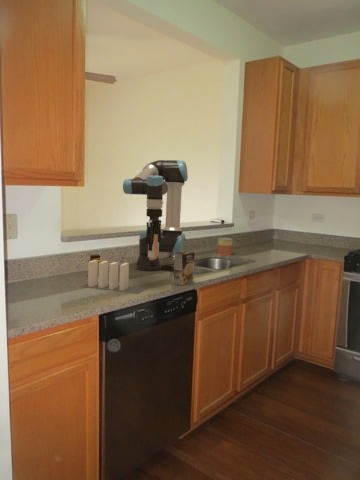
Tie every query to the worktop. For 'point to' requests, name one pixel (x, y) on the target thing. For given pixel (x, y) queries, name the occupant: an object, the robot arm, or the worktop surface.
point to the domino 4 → (124, 276)
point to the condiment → (95, 258)
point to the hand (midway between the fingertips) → (153, 256)
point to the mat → (129, 290)
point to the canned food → (224, 246)
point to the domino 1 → (92, 273)
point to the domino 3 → (113, 275)
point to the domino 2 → (103, 274)
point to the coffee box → (183, 268)
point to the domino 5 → (155, 246)
